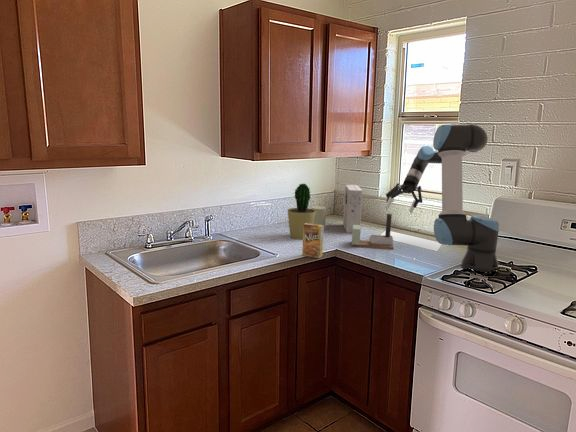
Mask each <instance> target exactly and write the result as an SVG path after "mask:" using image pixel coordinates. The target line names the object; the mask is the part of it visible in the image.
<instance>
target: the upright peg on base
mask: <svg viewBox="0 0 576 432" xmlns="http://www.w3.org/2000/svg"><path fill="white" fill-rule="evenodd" d="M391 226H392V213H386V223H385V234H384V235H385V237H390V236H391V229H392V227H391ZM368 241H369V242H371V235H370V236H369V239H368Z"/></svg>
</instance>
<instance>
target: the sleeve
mask: <svg viewBox="0 0 576 432" xmlns="http://www.w3.org/2000/svg"><path fill="white" fill-rule="evenodd" d="M370 236H371V242H370V244H378V245H392V243H393V241H394V239H393V235H390V237H385V234H381V235H380V234H370Z"/></svg>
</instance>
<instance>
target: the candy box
mask: <svg viewBox="0 0 576 432" xmlns="http://www.w3.org/2000/svg"><path fill="white" fill-rule="evenodd" d="M324 229H325V227H324V225H320V224H311V223H305V224H304V227H303V239H302V249H301V250H302V251H301V255H302V256H303V257H304V256H305V257H311V258H316V259H320V258H322V257H323V249H324V248H323V247H324V245H323V244H324Z"/></svg>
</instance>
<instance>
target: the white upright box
mask: <svg viewBox="0 0 576 432" xmlns="http://www.w3.org/2000/svg"><path fill="white" fill-rule="evenodd" d="M344 186H345V187H344V199H343V202H344V203H343V215H342V217H343V218H342V221H343V222H342V224H343V227H344V230H345V232H346V234H352V232H353V225H361V221H362V220H361V219H362V204H363V189H362V188H361V187H360V186H358V184H357V185H356V184H345V185H344Z"/></svg>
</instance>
